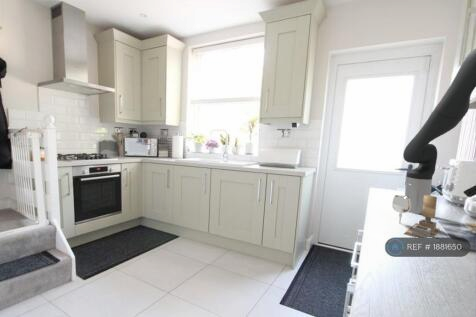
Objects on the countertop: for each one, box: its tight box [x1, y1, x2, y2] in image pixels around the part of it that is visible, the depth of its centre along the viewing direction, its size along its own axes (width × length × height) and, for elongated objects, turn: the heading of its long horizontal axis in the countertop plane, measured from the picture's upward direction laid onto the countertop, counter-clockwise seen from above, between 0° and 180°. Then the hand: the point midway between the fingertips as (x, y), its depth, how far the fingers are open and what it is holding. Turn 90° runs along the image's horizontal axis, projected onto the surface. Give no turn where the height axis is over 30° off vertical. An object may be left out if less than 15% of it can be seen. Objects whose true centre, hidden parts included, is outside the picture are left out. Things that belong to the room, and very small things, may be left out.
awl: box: [421, 195, 438, 224], centre depth 80 cm, size 4×4×12 cm
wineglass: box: [391, 194, 411, 224], centre depth 85 cm, size 6×6×12 cm
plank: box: [403, 218, 441, 239], centre depth 77 cm, size 18×7×4 cm, turn 130°
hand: (470, 193), depth 71 cm, fingers open, 8 cm apart
